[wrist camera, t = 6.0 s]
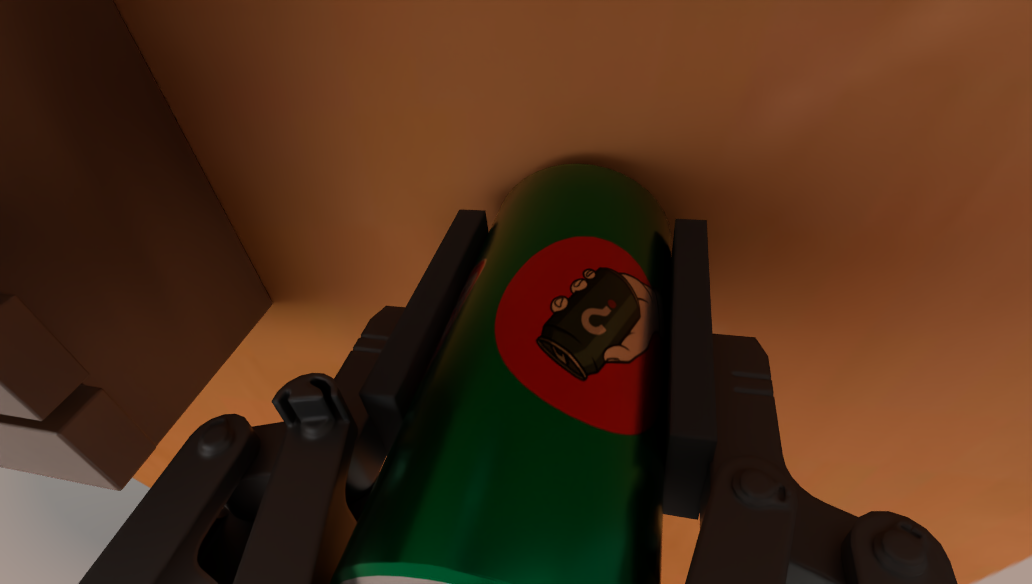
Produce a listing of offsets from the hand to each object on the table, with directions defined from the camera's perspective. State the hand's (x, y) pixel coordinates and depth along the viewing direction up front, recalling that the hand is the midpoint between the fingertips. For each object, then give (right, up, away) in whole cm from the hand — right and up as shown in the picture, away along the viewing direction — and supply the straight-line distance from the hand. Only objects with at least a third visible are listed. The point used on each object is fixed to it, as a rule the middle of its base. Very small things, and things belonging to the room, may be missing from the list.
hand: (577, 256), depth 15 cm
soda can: (0, +1, +1) cm, 1 cm away
